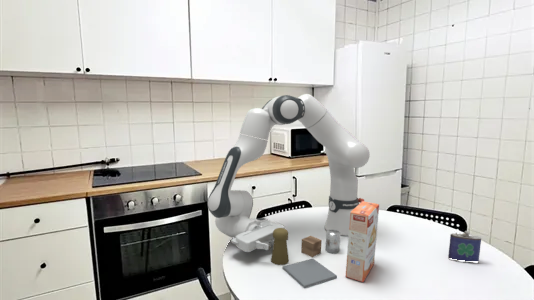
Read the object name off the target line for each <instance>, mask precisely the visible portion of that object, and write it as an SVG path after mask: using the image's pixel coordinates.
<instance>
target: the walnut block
mask: <svg viewBox="0 0 534 300" xmlns="http://www.w3.org/2000/svg"><path fill="white" fill-rule="evenodd" d="M322 243H323V242H322V239H320V238H318V237H315V236H312V235H309V236H307V237H304V238H301V254H304V255H306V256H308V257H310V258H315V257H317V256H318V255H320V254H322Z"/></svg>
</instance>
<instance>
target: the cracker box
mask: <svg viewBox="0 0 534 300" xmlns="http://www.w3.org/2000/svg"><path fill="white" fill-rule="evenodd" d="M379 210H380V204H378V203H375V202H368V201H365V200H364V201H362V202H361V203H360V202H359V205H358V206H357V207H356V208H354V209H353V210H352V211H351V212H350V222H349V236H348V238H347V253H346V254H347V255H346V266H345V277H346V278H348V279H351V280H355V281H358V282H361V283H364V282H365V281H366V278H367V277H368V275H369V274H370V271H371V270H372V268H373V266H374V264H375V256H376V249H377V247H376V244H377V236H378V224H379V223H378V222H379V215H380V214H379Z"/></svg>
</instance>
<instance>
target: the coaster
mask: <svg viewBox="0 0 534 300" xmlns="http://www.w3.org/2000/svg"><path fill="white" fill-rule="evenodd" d="M282 270H283V271H284V272H285V273H286V274H288V275H289V276H290V278H292V279H293V280H294V281H296V282H297V284H299V285H300V286H301V287H302V288H304V289H307V288H310V287H313V286H315V285H319V284H323V283H326V282H328V281H332V280H335V279H337V278H338V275H337V274H335V273H334V272H333V271H331V270H330V269H329V268H327V267H325V265H323V264H322V263H320V262H319V261H318V260H316V259H314V258H309V259H306V260H301V261H298V262H294V263H290V264H285V265H282Z"/></svg>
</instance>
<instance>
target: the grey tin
mask: <svg viewBox="0 0 534 300" xmlns="http://www.w3.org/2000/svg"><path fill="white" fill-rule="evenodd" d="M340 243H341V235H340V232H339V231H337V230H332V229H331V230H326V232H325V247H324V248H325V252H326V253H328V254H333V255H337V254H339V253H340V245H341V244H340Z"/></svg>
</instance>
